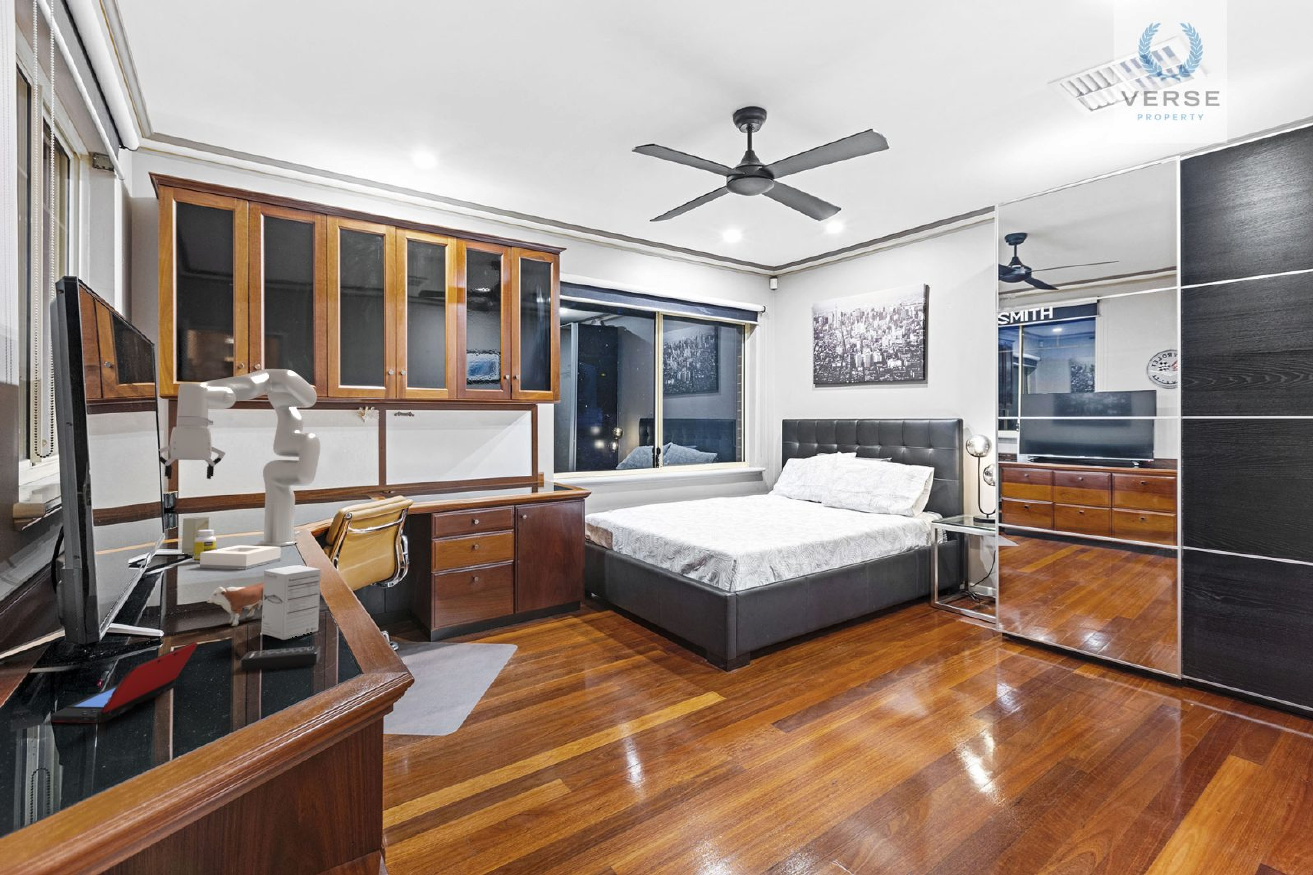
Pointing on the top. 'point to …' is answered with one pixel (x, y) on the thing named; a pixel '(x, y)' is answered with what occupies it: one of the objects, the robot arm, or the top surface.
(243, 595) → the bull figurine
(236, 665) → the top surface
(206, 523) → the skincare box
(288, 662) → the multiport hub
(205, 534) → the supplement bottle
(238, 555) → the sleeve holder
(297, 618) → the supplement box
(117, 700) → the handheld game console
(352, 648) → the top surface
